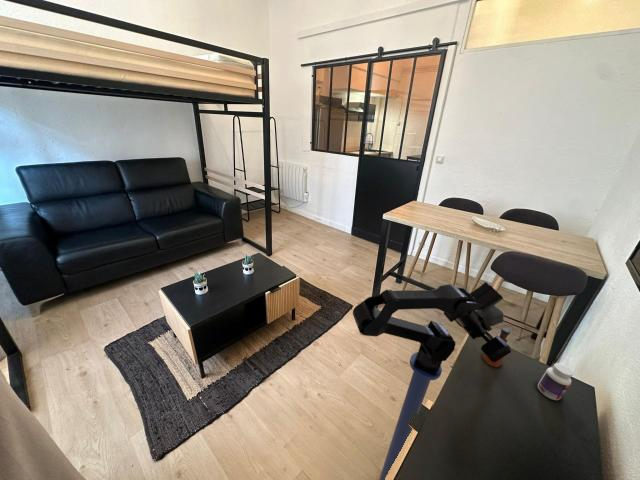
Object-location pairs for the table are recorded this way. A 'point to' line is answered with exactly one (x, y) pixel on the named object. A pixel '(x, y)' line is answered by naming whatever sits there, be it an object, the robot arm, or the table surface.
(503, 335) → the spice bottle
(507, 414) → the table surface
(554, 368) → the pill bottle
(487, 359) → the pot
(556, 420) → the table surface
